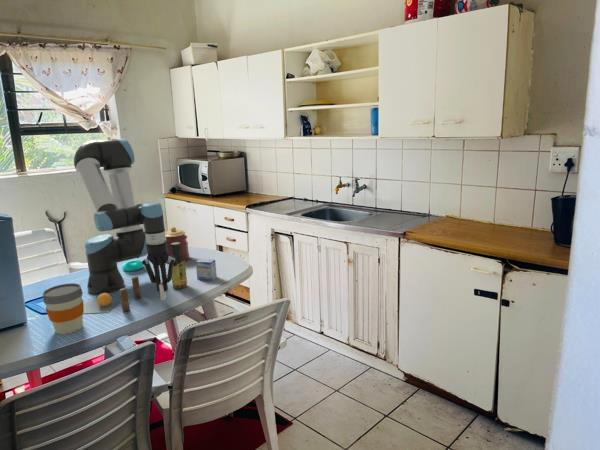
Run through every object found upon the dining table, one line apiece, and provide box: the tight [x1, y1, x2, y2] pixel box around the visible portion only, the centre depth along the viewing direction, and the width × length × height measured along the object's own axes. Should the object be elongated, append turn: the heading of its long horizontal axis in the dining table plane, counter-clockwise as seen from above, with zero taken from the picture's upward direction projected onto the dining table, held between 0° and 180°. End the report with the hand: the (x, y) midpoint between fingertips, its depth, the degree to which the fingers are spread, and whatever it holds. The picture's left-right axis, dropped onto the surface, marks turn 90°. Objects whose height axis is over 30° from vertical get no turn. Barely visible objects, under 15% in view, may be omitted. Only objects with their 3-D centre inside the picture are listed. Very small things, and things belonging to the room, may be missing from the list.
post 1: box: [119, 287, 131, 314], centre depth 173 cm, size 3×3×9 cm
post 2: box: [131, 276, 142, 300], centre depth 185 cm, size 3×3×9 cm
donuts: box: [122, 259, 144, 272], centre depth 223 cm, size 10×10×10 cm
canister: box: [165, 226, 190, 264], centre depth 232 cm, size 13×13×18 cm
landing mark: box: [83, 297, 121, 315], centre depth 180 cm, size 14×14×1 cm
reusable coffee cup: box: [42, 283, 84, 335], centre depth 160 cm, size 13×12×15 cm
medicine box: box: [195, 258, 218, 281], centre depth 204 cm, size 8×4×9 cm, turn 76°
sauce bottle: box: [171, 242, 188, 290], centre depth 194 cm, size 7×6×20 cm
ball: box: [96, 293, 113, 307], centre depth 179 cm, size 6×6×6 cm
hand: (163, 298), depth 179 cm, fingers closed
